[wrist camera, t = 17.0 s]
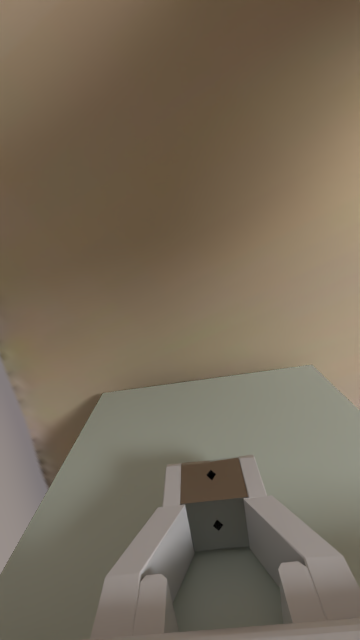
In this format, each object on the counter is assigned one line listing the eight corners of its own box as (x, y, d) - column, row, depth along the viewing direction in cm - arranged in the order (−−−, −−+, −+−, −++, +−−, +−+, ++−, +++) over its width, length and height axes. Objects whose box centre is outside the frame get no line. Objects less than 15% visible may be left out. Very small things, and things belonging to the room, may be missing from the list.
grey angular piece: (102, 393, 19) (-64, 688, 6) (311, 364, 18) (603, 643, 5) (145, 555, 23) (94, 940, 10) (319, 539, 22) (499, 938, 9)
